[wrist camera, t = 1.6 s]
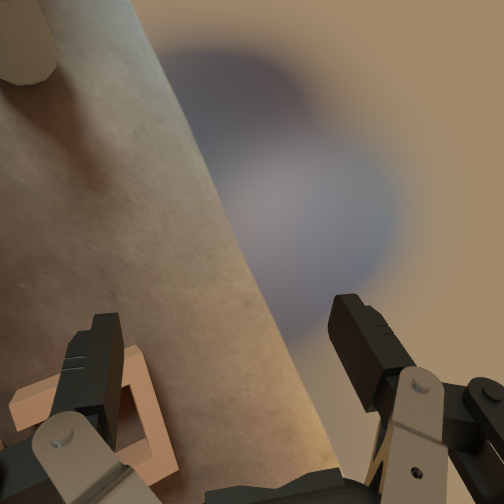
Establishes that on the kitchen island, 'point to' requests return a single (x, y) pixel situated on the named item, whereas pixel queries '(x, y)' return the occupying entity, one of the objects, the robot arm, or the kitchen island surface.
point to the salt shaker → (25, 43)
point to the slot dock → (137, 377)
